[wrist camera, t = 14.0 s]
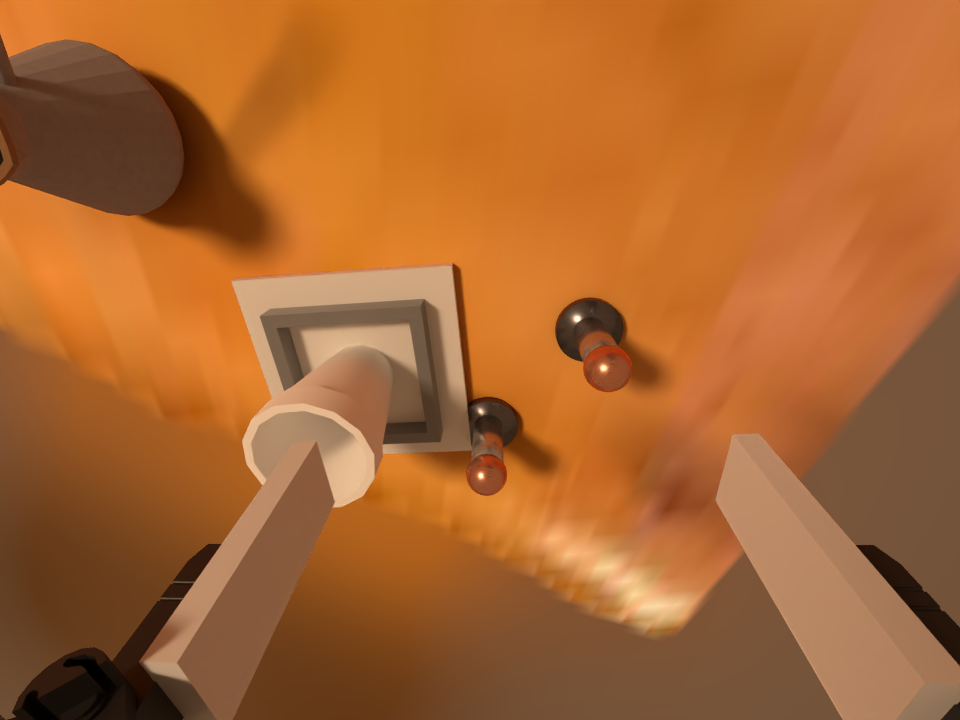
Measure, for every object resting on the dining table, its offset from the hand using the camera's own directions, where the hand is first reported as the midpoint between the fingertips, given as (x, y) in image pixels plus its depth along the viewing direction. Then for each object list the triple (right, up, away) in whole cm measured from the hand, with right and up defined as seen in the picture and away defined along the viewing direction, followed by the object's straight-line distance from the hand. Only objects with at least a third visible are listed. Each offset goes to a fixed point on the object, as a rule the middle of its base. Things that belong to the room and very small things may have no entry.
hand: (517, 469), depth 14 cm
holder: (-13, +3, +29) cm, 32 cm away
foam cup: (-13, +2, +28) cm, 31 cm away
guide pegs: (+4, +2, +28) cm, 29 cm away
